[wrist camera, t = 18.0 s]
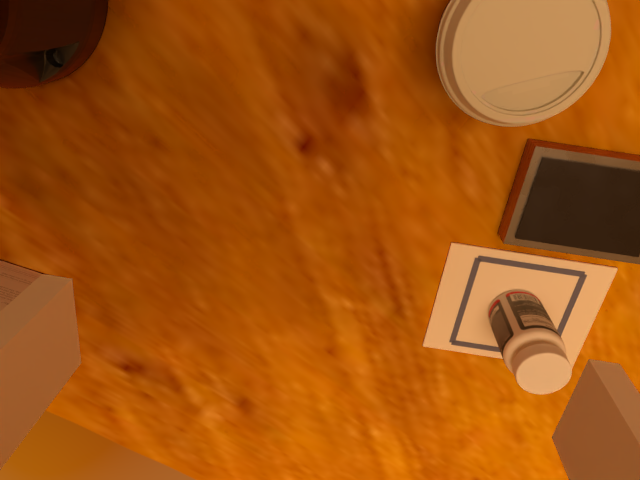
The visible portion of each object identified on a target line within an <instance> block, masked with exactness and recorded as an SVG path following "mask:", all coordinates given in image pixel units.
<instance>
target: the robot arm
mask: <svg viewBox="0 0 640 480" xmlns="http://www.w3.org/2000/svg"><path fill="white" fill-rule="evenodd" d="M107 1H108V0H0V87H1V88H29V87H35V86H39V85H42V84H46V83H49V82H52V81H55V80H58V79H61V78H63V77H65V76H67V75H69V74H71V73H72V72H74V71H75V70H76V69H78V68H79V67H80V66H81V65H82V64H83V63H84V62H85V61H86V60H87V59H88V58H89V56H90V55H91V54H92V52H93V51H94V49H95V47H96V45H97V43H98V41H99V39H100V37H101V34H102V31H103V28H104V24H105V19H106V13H107ZM80 364H81V356H80V347H79V338H78V329H77V319H76V310H75V301H74V292H73V283H72V279H71V278H65V277H59V276H52V275H46V274H42V275H41V276H40V277H38V278H37V279H36V280H35V281H34V282H33V283H32V284H31V285H29V286H28V287H27V288H26V289H25V290H24V291H23V292H22V293H20V294H19V295H18V296H17V297H16V298H15V299H14V300H13V301H11V302H10V303H9V304H8V305H7V306H6V307H5V308H4V309H2V310H1V311H0V470H1V468H2V467H3V465H4V464H5V463H6V462H7V460H8V459H9V457H10V456H11V455H12V454H13V452H14V451H15V450H16V448H17V447H18V446H19V444H20V443H21V442H22V440H23V439H24V438H25V437H26V435H27V433H29V431H30V429H31V428H32V427H33V426H34V425H35V423H36V422H37V421H38V419H39V418H40V417H41V415H42V414H43V413H44V411H45V410H46V409H47V407H48V406H49V405H50V403H51V402H52V401H53V399H54V398H55V397H56V395H57V394H58V393H59V392H60V390H61V389H62V388H63V386H64V385H65V384H66V382H67V381H68V380H69V378H70V377H71V376H72V374H73V373H74V372H75V370H76V369H77V368H78V366H79V365H80ZM552 439H553V441H554V444H555V446H556V449H557V451H558V454H559V456H560V459H561V461H562V463H563V466H564V468H565V471H566V473H567V476H568V478H569V480H640V394H639V392H638V391H637V389H636V388H635V386H634V385H633V383H632V382H631V380H630V379H629V377H628V376H627V374H626V373H625V371H624V370H623V368H622V367H621V365H620V364H617V363H610V362H604V361H597V360H591V359H589V360H588V362H587V364H586V366H585V369H584V371H583V373H582V375H581V377H580V379H579V381H578V383H577V385H576V387H575V390H574V392H573V394H572V396H571V398H570V400H569V402H568V404H567V406H566V409H565V411H564V413H563V415H562V417H561V419H560V421H559V423H558V425H557V427H556V430H555V432H554V434H553V436H552Z"/></svg>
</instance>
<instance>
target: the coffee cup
mask: <svg viewBox="0 0 640 480" xmlns="http://www.w3.org/2000/svg"><path fill="white" fill-rule="evenodd" d="M610 38H611V21H610V13H609V8H608V4H607V0H451V1H450V2H449V3H448V5H447V6H446V8H445V10H444V12H443V14H442V17H441V20H440V24H439V30H438V35H437V41H436V63H437V69H438V73H439V77H440V80H441V82H442V85H443V87H444V89H445V91H446V92H447V94H448V95H449V97H450V98H451V100H452V101H453V102H454V103H455V104H456V105H457V106H458V107H459V108H460V109H461V110H462V111H464V112H465V113H466V114H468V115H469V116H471V117H473V118H475V119H477V120H479V121H482V122H485V123H489V124H492V125H497V126H506V127H515V126H525V125H530V124H534V123H537V122H540V121H543V120H545V119H548V118H550V117H552V116H554V115H556V114H558V113H560V112H562V111H563V110H565V109H566V108H568V107H569V106H571V105H572V104H573V103H574V102H576V101H577V100H578V99H579V98H580V97H581V96H582V95H583V94H584V93H585V92H586V91H587V90H588V88H589V87H590V86H591V85H592V83H593V82H594V80H595V79H596V77H597V76H598V74H599V72H600V70H601V68H602V66H603V64H604V62H605V59H606V56H607V53H608V49H609V44H610Z"/></svg>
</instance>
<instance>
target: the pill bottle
mask: <svg viewBox="0 0 640 480" xmlns="http://www.w3.org/2000/svg"><path fill="white" fill-rule="evenodd" d="M488 319H489V323H490V326H491V328H492V331H493V334H494V336H495V339H496V342H497V344H498V347H499V349H500V352H501V355H502V358H503V360H504V362H505V364H506V366H507V368H508V369H509V370H510V371H511V372H512V373H513V374H514V376H515V378H516V381H517V383H518V384H519V386H520V387H521V388H522V389H524V390H525V391H527V392H530V393H533V394H549V393H552V392H555V391H557V390H559V389H561V388H562V387H564V386H565V385H566V384H567V383H568V381H569V380H570V378H571V374H572V368H571V365H570V363H569V361H568V359H567V356H566V348H565V345H564V342H563V340H562V338H561V336H560V335H559V333H558V331H557V329H556V328H555V326H554V324H553V322H552V320H551V319H550V317H549V315H548V313H547V312H546V310H545V308H544V306H543V305H542V303H541V301H540V300H539V299H538V298H537V297H536V296H535V295H534V294H532V293H530V292H527V291H523V290H514V291H509V292H506V293H504V294H502V295H500V296H498V297H497V298H496V299H495V300H494V301H493V302H492V303H491V305H490V307H489V310H488Z"/></svg>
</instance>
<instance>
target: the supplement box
mask: <svg viewBox="0 0 640 480" xmlns="http://www.w3.org/2000/svg"><path fill="white" fill-rule="evenodd" d="M41 275H42V274H41V273H38V272H35V271H32V270H29V269H26V268H23V267H20V266H17V265H13V264H10V263H7V262H4V261H1V260H0V311H1V310H2V309H4V308H5V307H6V306H7V305H8V304H9V303H10V302H11V301H13V300H14V299H15V298H16V297H17V296H18V295H19V294H20V293H22V292H23V291H24V290H25V289H26V288H27V287H28V286H29V285H31V284H32V283H33V282H34V281H35V280H36V279H37V278H38V277H40V276H41Z"/></svg>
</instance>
